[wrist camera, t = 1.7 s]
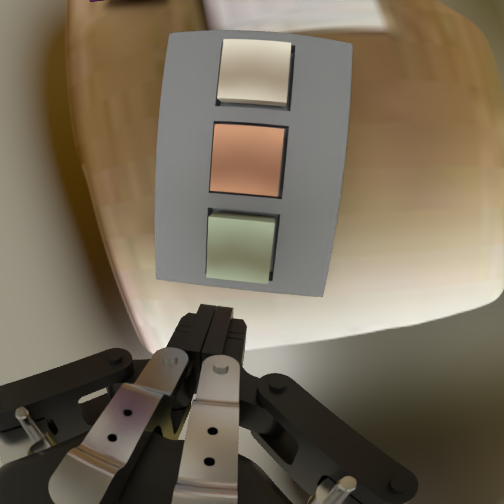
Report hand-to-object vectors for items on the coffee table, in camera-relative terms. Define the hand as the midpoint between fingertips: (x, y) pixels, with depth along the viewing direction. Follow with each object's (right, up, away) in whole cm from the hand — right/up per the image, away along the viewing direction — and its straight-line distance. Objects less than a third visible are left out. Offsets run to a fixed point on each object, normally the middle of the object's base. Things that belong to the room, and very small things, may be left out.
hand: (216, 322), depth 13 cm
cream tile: (+2, +17, +7) cm, 18 cm away
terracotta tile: (+1, +11, +9) cm, 14 cm away
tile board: (+2, +11, +11) cm, 16 cm away
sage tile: (+1, +4, +11) cm, 12 cm away
